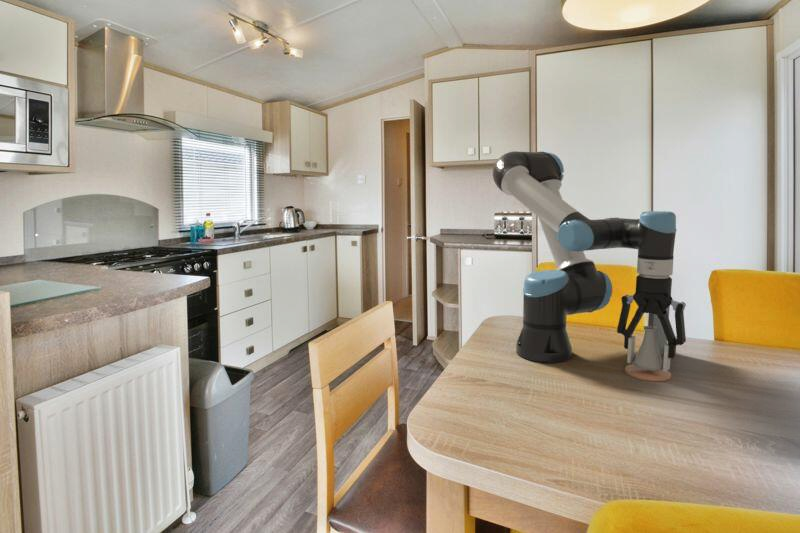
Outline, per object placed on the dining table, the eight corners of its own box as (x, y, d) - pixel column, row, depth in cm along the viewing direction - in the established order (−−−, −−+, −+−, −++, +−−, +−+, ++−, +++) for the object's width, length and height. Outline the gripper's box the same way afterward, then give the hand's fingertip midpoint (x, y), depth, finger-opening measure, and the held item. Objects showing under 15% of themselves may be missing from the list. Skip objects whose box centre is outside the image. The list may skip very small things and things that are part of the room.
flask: (636, 370, 108) (639, 331, 107) (628, 360, 115) (630, 323, 114) (669, 372, 107) (672, 332, 105) (658, 361, 114) (661, 324, 112)
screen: (637, 361, 119) (641, 310, 117) (654, 348, 129) (657, 301, 127) (658, 366, 116) (662, 314, 113) (673, 352, 125) (677, 304, 123)
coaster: (619, 373, 111) (619, 371, 111) (633, 363, 118) (633, 361, 118) (663, 385, 104) (664, 382, 104) (676, 373, 111) (676, 370, 111)
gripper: (604, 273, 112) (600, 359, 115) (699, 283, 97) (691, 381, 101) (616, 269, 117) (611, 352, 121) (707, 278, 103) (699, 372, 106)
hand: (647, 365), depth 111 cm, fingers closed on flask, 7 cm apart
